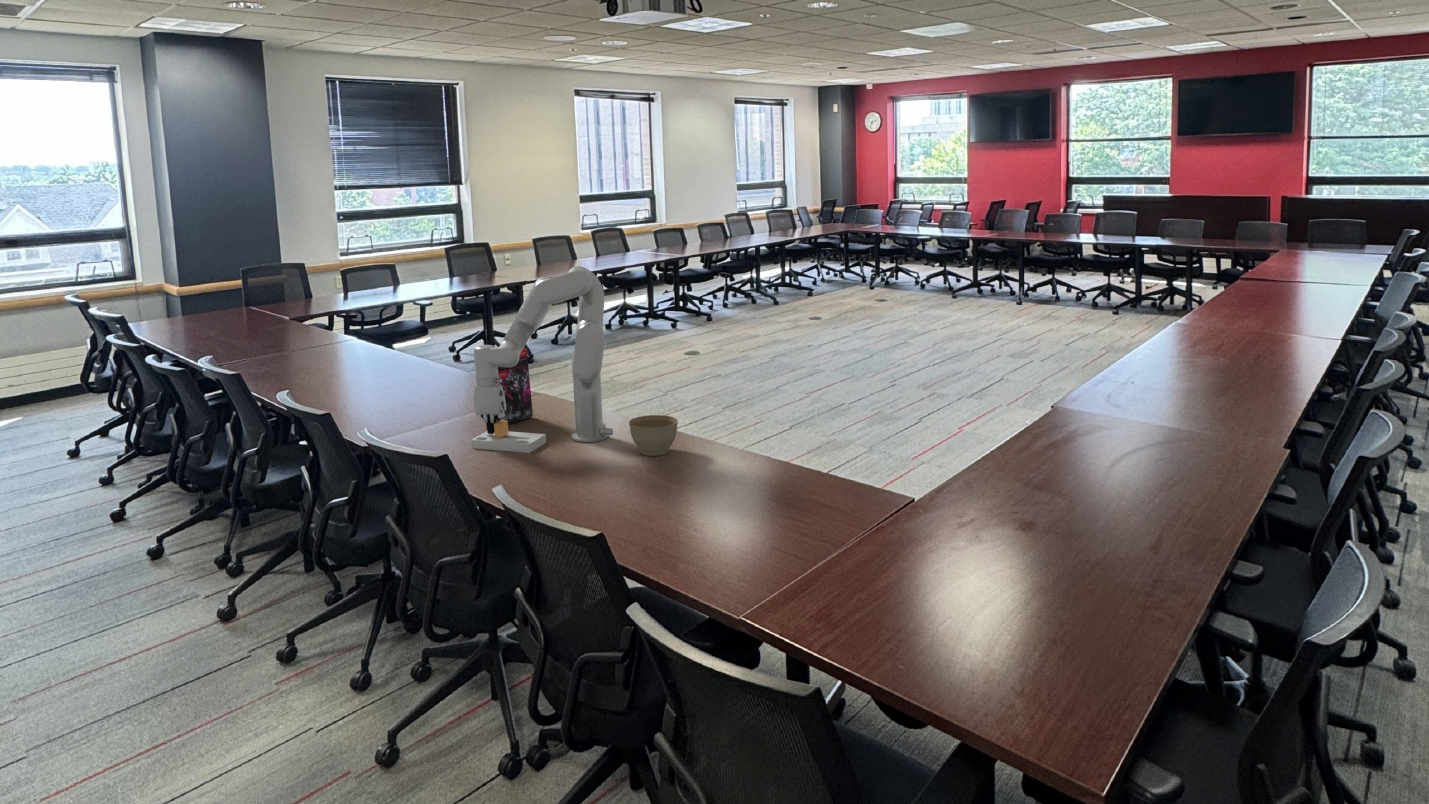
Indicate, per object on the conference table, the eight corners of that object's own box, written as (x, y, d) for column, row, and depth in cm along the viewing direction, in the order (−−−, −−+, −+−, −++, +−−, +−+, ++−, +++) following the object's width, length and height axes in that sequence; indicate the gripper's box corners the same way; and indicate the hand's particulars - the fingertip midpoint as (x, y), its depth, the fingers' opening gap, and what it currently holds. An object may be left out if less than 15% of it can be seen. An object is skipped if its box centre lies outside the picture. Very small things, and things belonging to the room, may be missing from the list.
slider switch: (546, 442, 319) (545, 433, 318) (529, 452, 308) (529, 443, 307) (489, 437, 325) (489, 429, 324) (471, 448, 314) (471, 439, 313)
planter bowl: (688, 451, 307) (687, 419, 304) (654, 463, 295) (653, 430, 293) (654, 441, 317) (653, 411, 315) (620, 453, 306) (618, 421, 303)
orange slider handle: (509, 439, 319) (508, 420, 317) (502, 444, 314) (501, 424, 312) (502, 439, 319) (500, 419, 318) (494, 443, 315) (493, 423, 313)
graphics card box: (498, 428, 337) (492, 355, 330) (486, 425, 341) (480, 353, 334) (533, 417, 350) (528, 347, 343) (521, 414, 354) (516, 345, 347)
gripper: (512, 380, 314) (516, 431, 318) (474, 377, 318) (478, 428, 323) (501, 385, 307) (505, 437, 311) (462, 382, 311) (467, 434, 316)
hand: (491, 432), depth 317 cm, fingers closed
